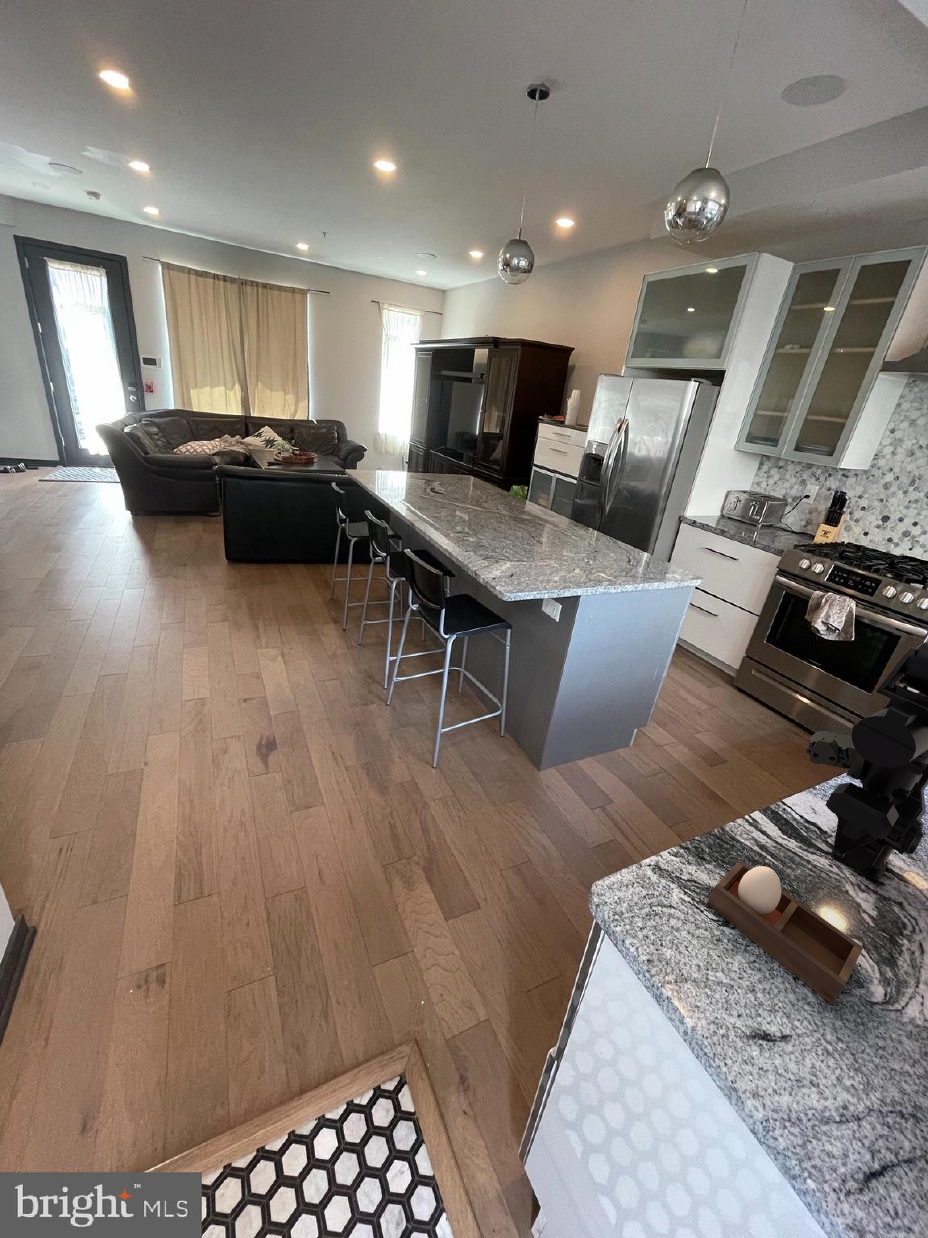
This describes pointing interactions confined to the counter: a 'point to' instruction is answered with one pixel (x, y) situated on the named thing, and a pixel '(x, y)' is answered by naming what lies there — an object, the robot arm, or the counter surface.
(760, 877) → the egg
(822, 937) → the egg rack
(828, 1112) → the counter surface
